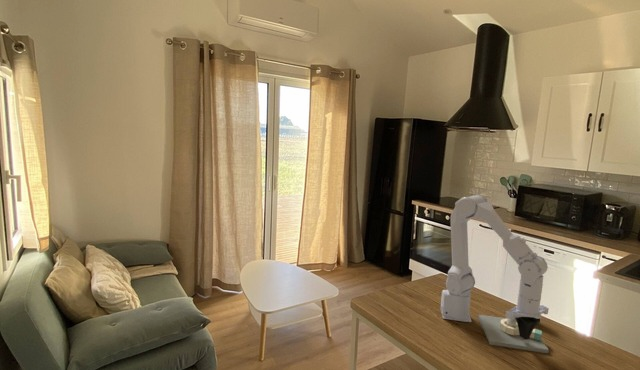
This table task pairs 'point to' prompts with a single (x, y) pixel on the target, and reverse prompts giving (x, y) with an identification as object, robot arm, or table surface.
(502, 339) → the post board
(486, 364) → the table surface
